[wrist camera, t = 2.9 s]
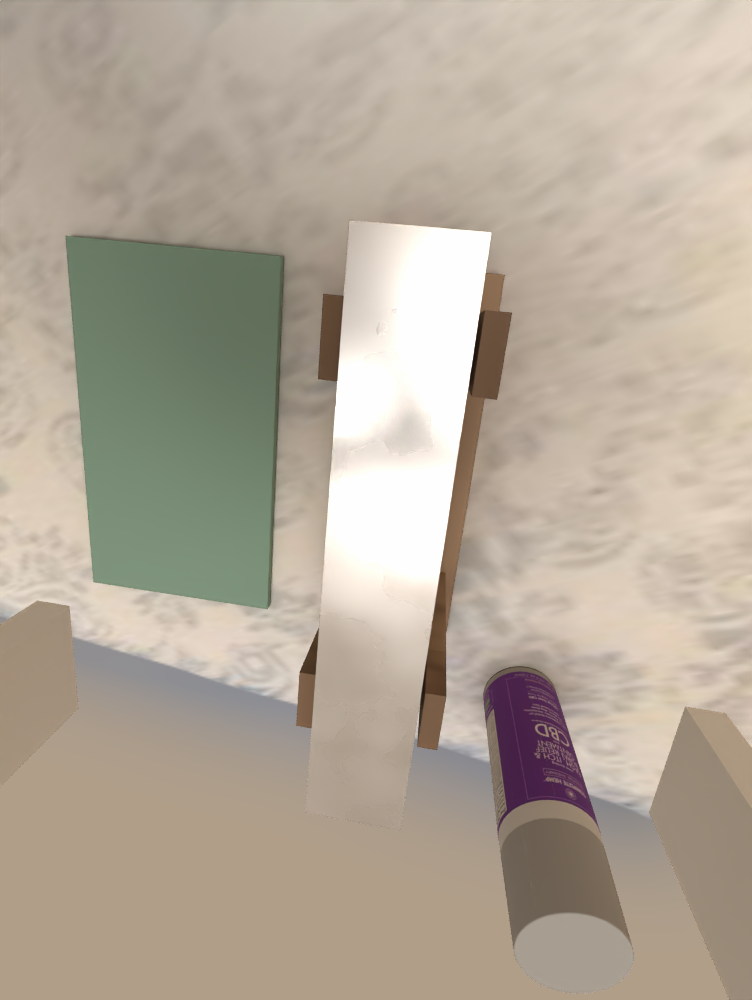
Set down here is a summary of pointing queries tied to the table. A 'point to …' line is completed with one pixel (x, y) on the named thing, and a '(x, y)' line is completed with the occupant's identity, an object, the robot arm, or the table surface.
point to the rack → (480, 386)
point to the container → (551, 843)
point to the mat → (178, 414)
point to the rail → (389, 504)
